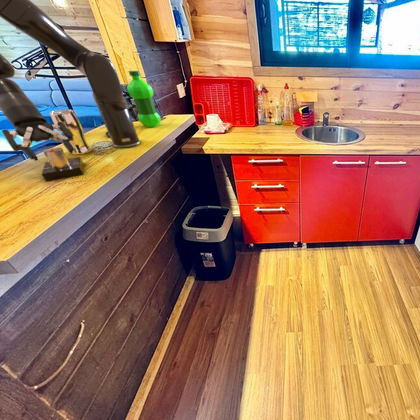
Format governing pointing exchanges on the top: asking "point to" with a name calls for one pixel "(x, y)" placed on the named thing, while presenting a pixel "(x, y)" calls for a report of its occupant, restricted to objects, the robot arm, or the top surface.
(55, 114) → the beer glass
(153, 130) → the top surface
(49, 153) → the dial
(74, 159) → the black flat block
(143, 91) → the plastic bottle
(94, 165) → the top surface
